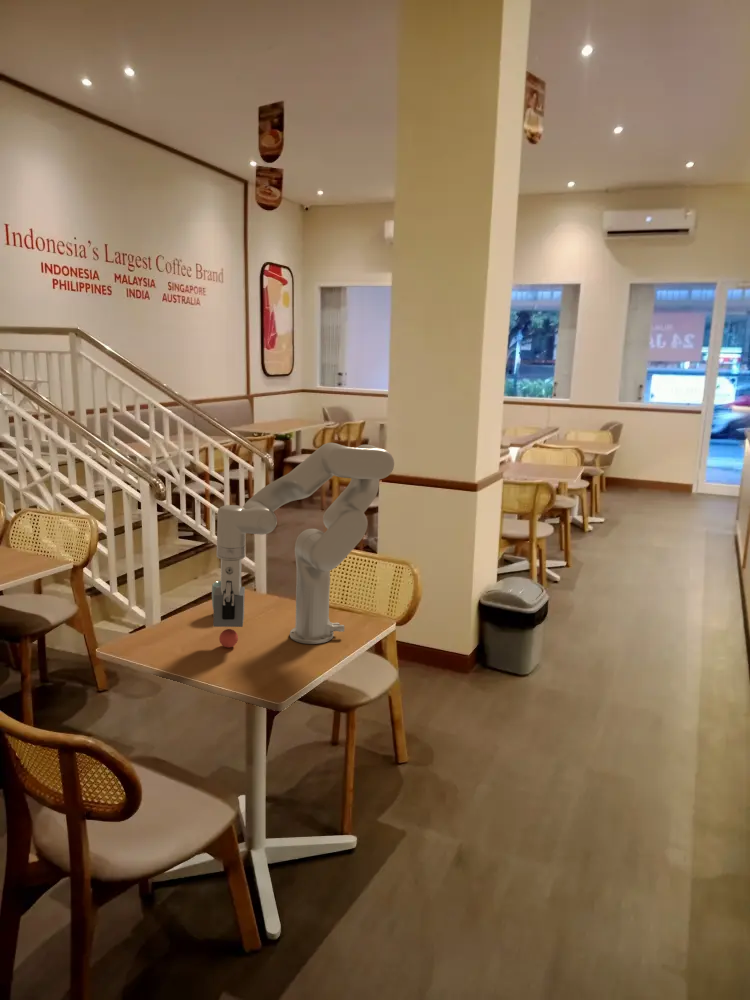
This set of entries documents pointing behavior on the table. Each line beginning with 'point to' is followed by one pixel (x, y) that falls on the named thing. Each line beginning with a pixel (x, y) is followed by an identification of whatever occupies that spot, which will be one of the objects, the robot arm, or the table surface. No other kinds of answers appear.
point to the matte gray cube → (238, 609)
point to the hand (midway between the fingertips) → (229, 613)
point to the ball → (228, 638)
